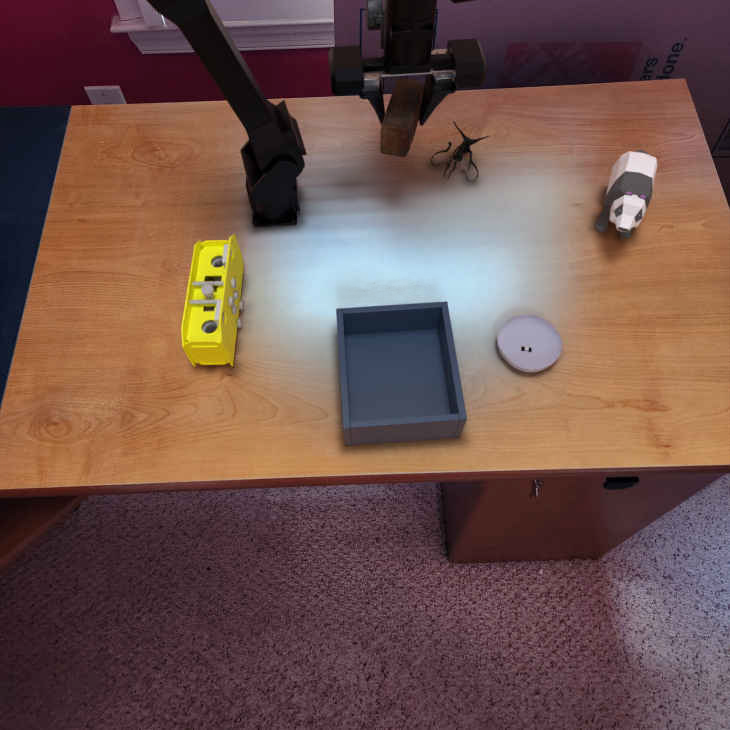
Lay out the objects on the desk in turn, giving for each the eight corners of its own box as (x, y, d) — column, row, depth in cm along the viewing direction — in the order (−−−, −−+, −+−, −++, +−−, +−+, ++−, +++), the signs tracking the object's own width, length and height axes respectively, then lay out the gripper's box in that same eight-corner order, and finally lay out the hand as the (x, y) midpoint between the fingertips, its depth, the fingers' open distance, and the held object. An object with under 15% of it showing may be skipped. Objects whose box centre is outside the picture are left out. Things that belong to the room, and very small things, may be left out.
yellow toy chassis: (238, 369, 73) (223, 334, 65) (192, 369, 73) (172, 335, 65) (248, 266, 80) (236, 225, 73) (207, 267, 80) (191, 226, 73)
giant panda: (603, 183, 87) (628, 131, 78) (641, 193, 86) (670, 141, 77) (585, 256, 80) (610, 207, 72) (625, 267, 80) (655, 219, 71)
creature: (468, 195, 87) (493, 155, 89) (469, 173, 82) (496, 131, 84) (423, 175, 89) (448, 136, 91) (421, 153, 84) (448, 112, 86)
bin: (344, 445, 68) (343, 428, 63) (338, 332, 75) (335, 308, 70) (460, 437, 68) (467, 419, 63) (442, 325, 75) (447, 301, 70)
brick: (408, 160, 76) (411, 130, 72) (379, 154, 76) (380, 125, 72) (423, 107, 81) (427, 77, 77) (396, 102, 81) (397, 72, 77)
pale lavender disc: (557, 381, 71) (561, 374, 70) (492, 371, 72) (495, 364, 70) (558, 326, 75) (563, 319, 73) (497, 318, 76) (499, 310, 74)
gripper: (479, -39, 68) (460, 81, 82) (321, -30, 67) (328, 89, 81) (499, 18, 63) (475, 136, 77) (328, 28, 62) (334, 145, 76)
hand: (402, 124), depth 78 cm, fingers closed on brick, 5 cm apart
